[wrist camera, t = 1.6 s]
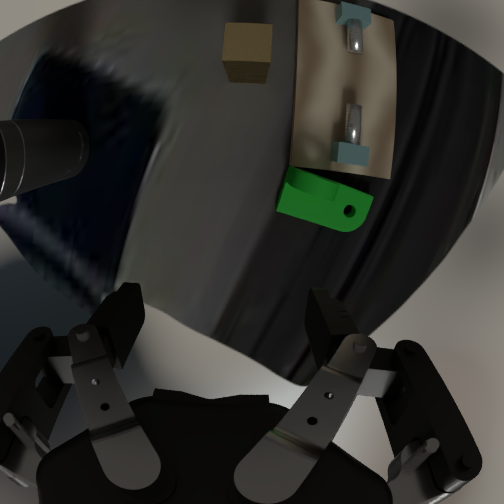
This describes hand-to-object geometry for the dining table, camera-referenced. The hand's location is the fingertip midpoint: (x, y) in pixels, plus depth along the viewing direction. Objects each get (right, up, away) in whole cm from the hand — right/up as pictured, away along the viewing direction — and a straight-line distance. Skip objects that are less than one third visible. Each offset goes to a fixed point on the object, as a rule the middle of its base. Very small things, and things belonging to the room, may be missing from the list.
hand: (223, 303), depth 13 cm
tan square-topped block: (+1, +26, +17) cm, 31 cm away
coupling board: (+14, +25, +17) cm, 33 cm away
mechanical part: (+11, +9, +24) cm, 28 cm away
